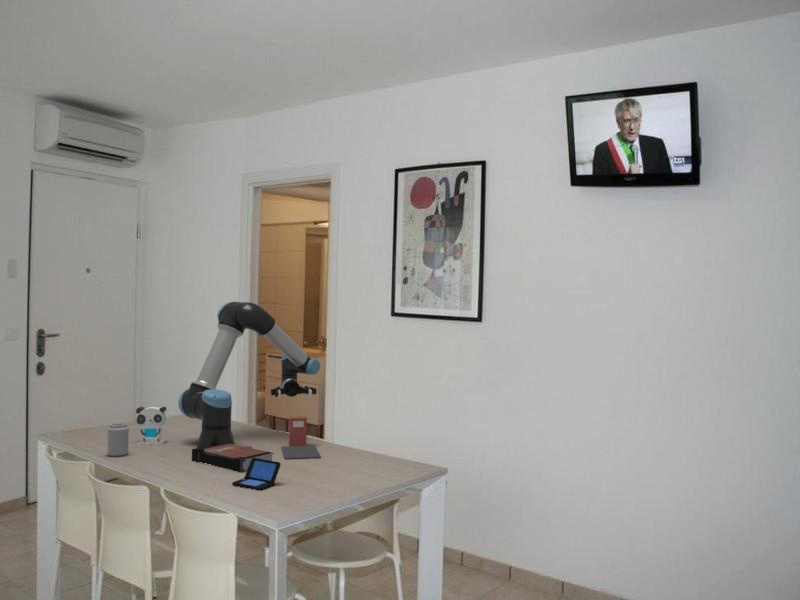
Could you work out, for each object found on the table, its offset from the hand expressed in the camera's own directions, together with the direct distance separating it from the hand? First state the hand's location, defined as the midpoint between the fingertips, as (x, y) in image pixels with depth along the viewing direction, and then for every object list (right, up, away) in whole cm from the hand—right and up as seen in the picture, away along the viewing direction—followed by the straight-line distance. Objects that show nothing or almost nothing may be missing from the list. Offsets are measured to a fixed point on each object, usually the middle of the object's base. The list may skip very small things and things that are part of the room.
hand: (295, 394), depth 295 cm
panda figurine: (-60, -19, -9) cm, 63 cm away
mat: (+5, -20, -23) cm, 31 cm away
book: (-18, -21, -40) cm, 48 cm away
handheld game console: (-3, -21, -69) cm, 72 cm away
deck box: (+2, -20, -10) cm, 23 cm away
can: (-64, -19, -32) cm, 74 cm away
